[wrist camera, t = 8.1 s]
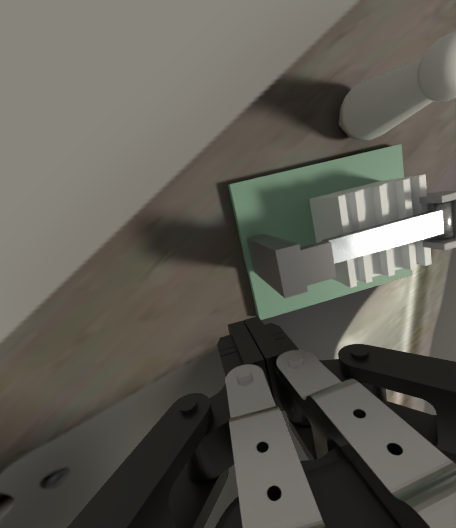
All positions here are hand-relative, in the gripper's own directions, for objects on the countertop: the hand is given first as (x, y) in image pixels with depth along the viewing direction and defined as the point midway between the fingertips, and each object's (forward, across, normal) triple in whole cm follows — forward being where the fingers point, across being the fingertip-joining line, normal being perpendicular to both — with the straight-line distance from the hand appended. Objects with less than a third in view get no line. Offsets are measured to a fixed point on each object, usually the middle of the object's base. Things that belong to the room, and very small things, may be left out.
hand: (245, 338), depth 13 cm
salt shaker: (+20, -20, -12) cm, 31 cm away
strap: (+12, -17, 0) cm, 20 cm away
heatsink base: (+19, -15, 0) cm, 25 cm away
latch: (+18, -7, 0) cm, 19 cm away
